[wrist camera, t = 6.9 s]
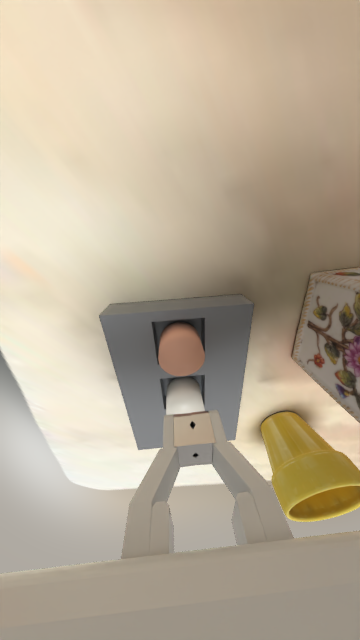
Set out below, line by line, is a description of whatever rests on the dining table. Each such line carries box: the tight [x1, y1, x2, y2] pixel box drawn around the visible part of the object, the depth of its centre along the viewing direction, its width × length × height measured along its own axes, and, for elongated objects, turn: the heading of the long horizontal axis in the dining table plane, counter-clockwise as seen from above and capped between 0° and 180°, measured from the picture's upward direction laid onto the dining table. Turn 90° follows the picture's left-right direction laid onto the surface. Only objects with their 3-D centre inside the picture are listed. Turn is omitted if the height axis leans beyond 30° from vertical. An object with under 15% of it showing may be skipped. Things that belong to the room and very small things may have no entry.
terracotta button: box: [158, 322, 205, 376], centre depth 16 cm, size 4×4×3 cm
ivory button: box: [166, 377, 205, 415], centre depth 19 cm, size 4×4×3 cm
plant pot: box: [261, 412, 360, 522], centre depth 24 cm, size 10×10×10 cm
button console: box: [99, 294, 254, 450], centre depth 21 cm, size 14×21×3 cm, turn 3°
